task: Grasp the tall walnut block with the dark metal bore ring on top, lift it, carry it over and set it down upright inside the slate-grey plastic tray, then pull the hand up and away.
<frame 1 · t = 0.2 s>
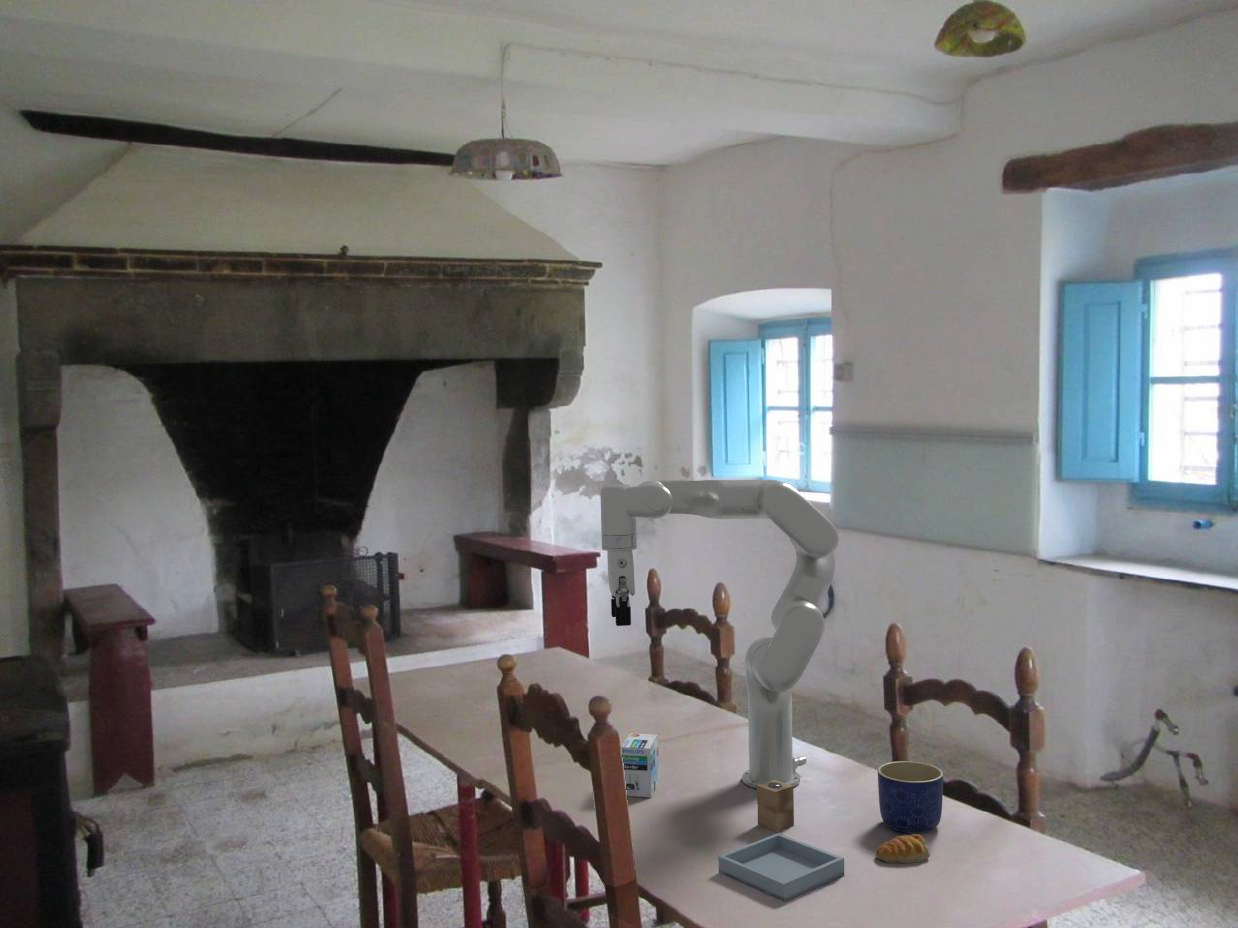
hand: (621, 620, 240), 37 cm above the table, tool pointing down, fingers open, 9 cm apart
planter: (910, 826, 218), on the table
light bulb box: (641, 789, 242), on the table
walnut block: (775, 825, 219), on the table
pastry: (904, 858, 203), on the table
tray: (781, 873, 197), on the table
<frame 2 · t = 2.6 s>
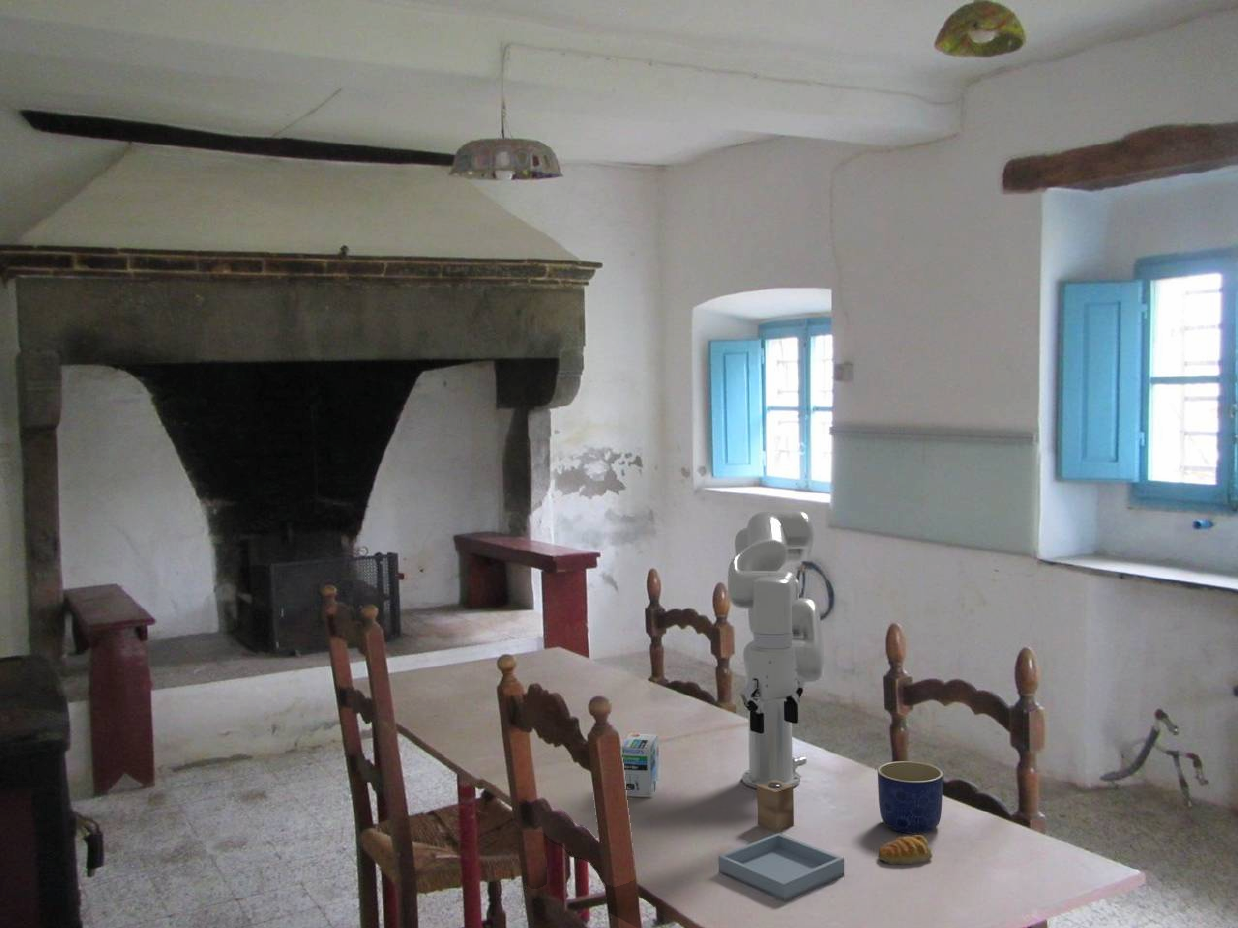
hand: (774, 726, 218), 20 cm above the table, tool pointing down, fingers open, 9 cm apart
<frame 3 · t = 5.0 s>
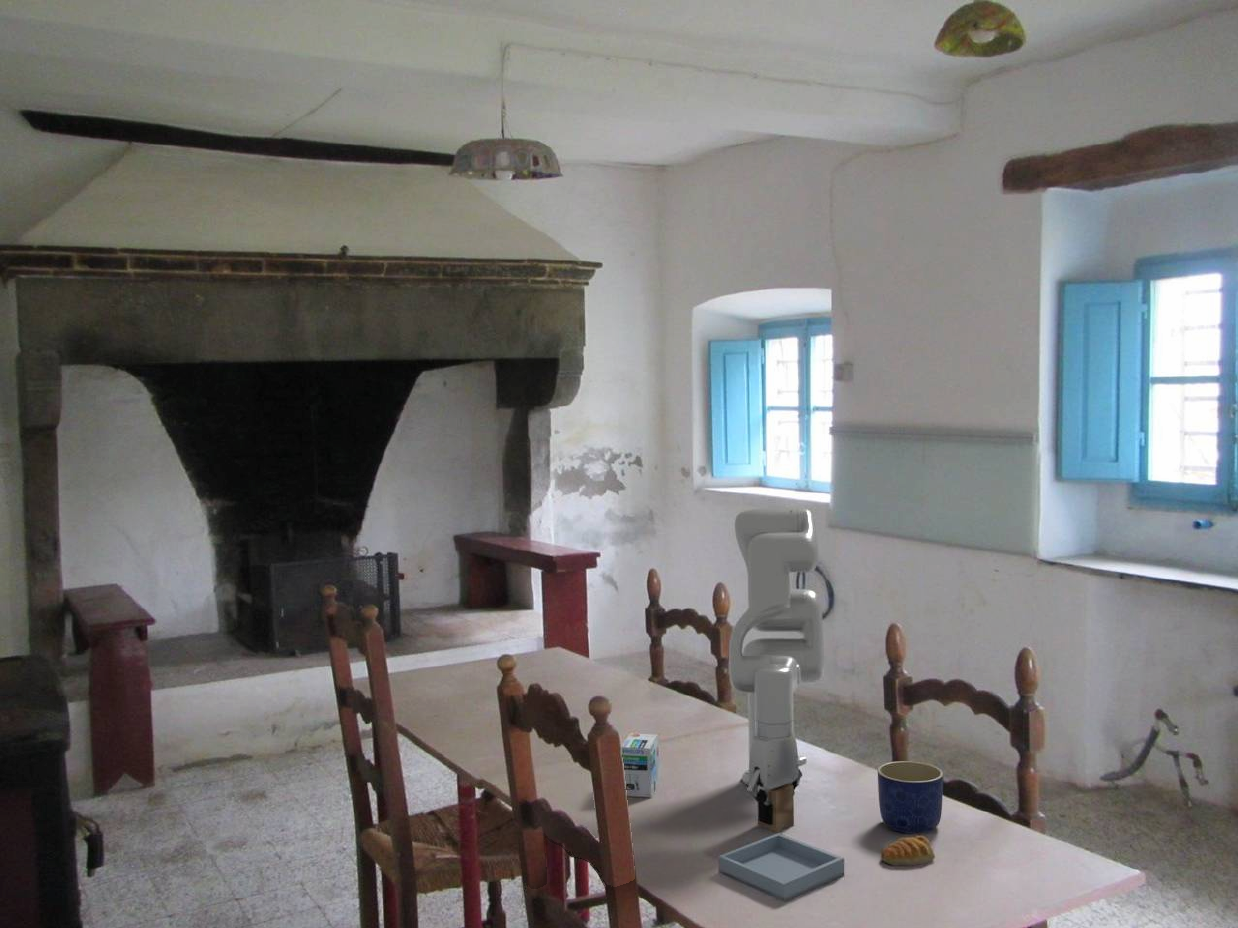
hand: (775, 817, 219), 1 cm above the table, tool pointing down, fingers closed on walnut block, 5 cm apart
walnut block: (775, 825, 219), on the table, touching gripper
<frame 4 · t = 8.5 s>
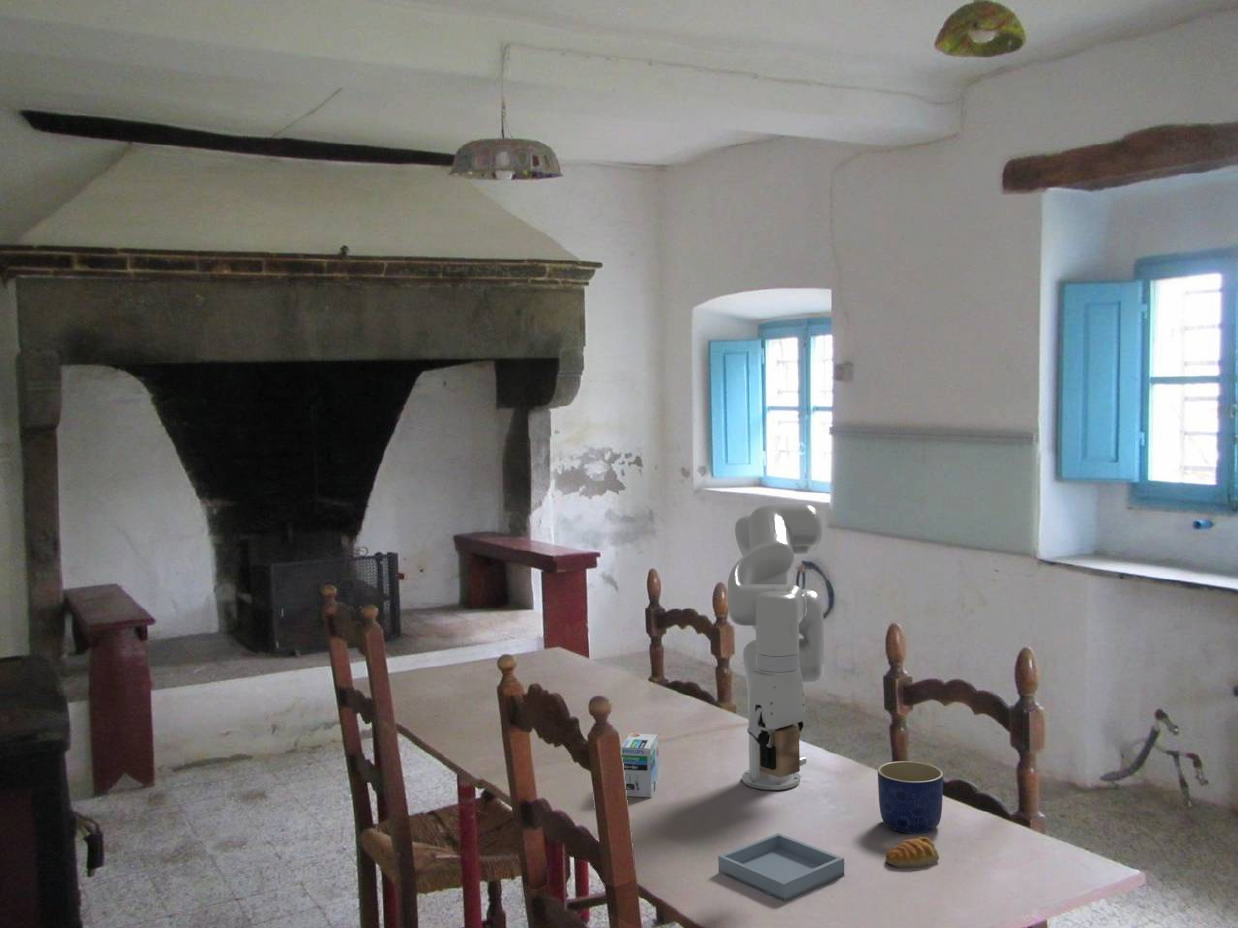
hand: (779, 763, 196), 20 cm above the table, tool pointing down, fingers closed on walnut block, 5 cm apart
walnut block: (779, 770, 197), point 18 cm above the table, touching gripper
when the fingers open (4 cm above the table, at t = 12.4 s): walnut block drops 1 cm, resting on tray.
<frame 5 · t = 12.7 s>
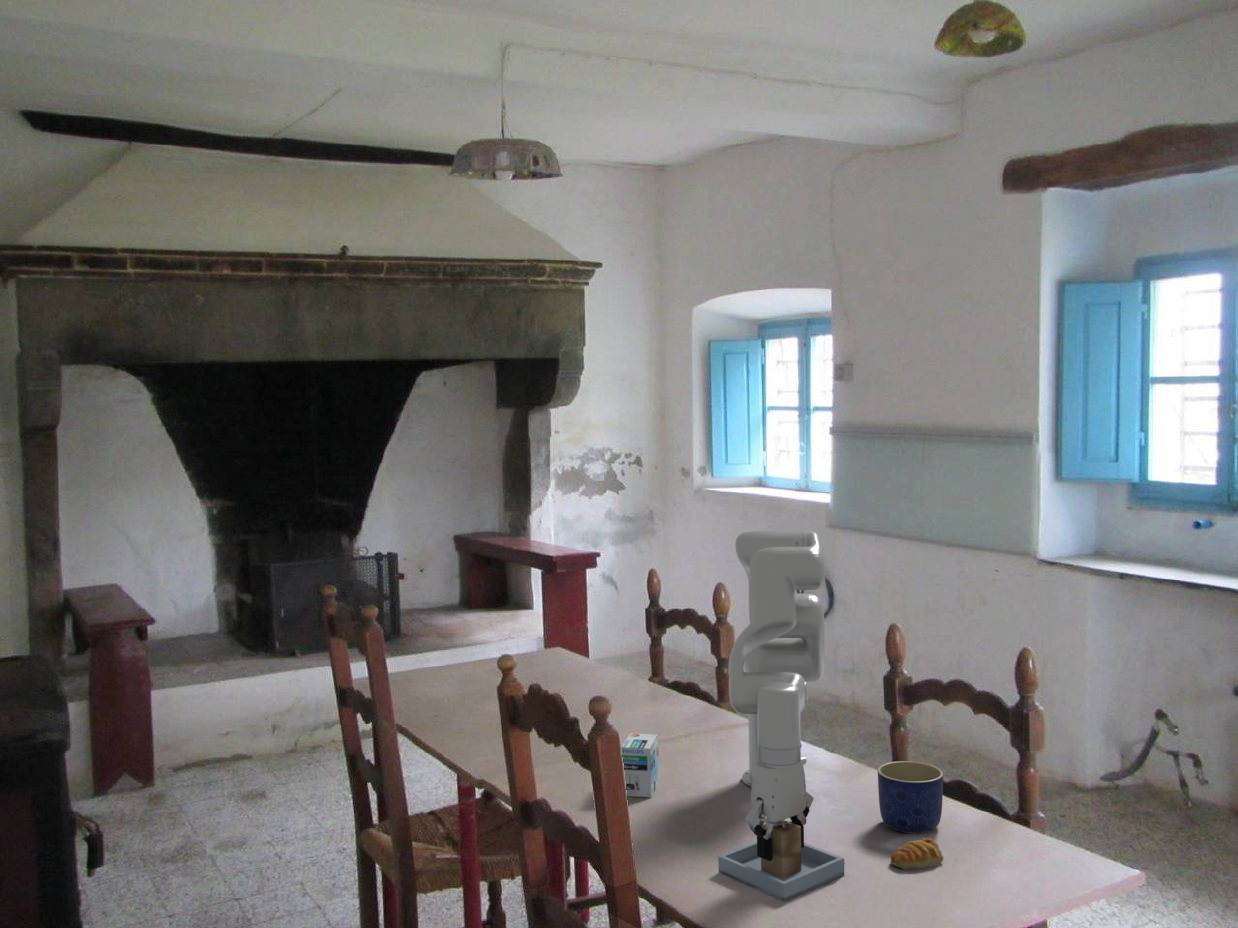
hand: (780, 851, 197), 4 cm above the table, tool pointing down, fingers open, 7 cm apart
walnut block: (781, 870, 197), point 1 cm above the table, touching tray
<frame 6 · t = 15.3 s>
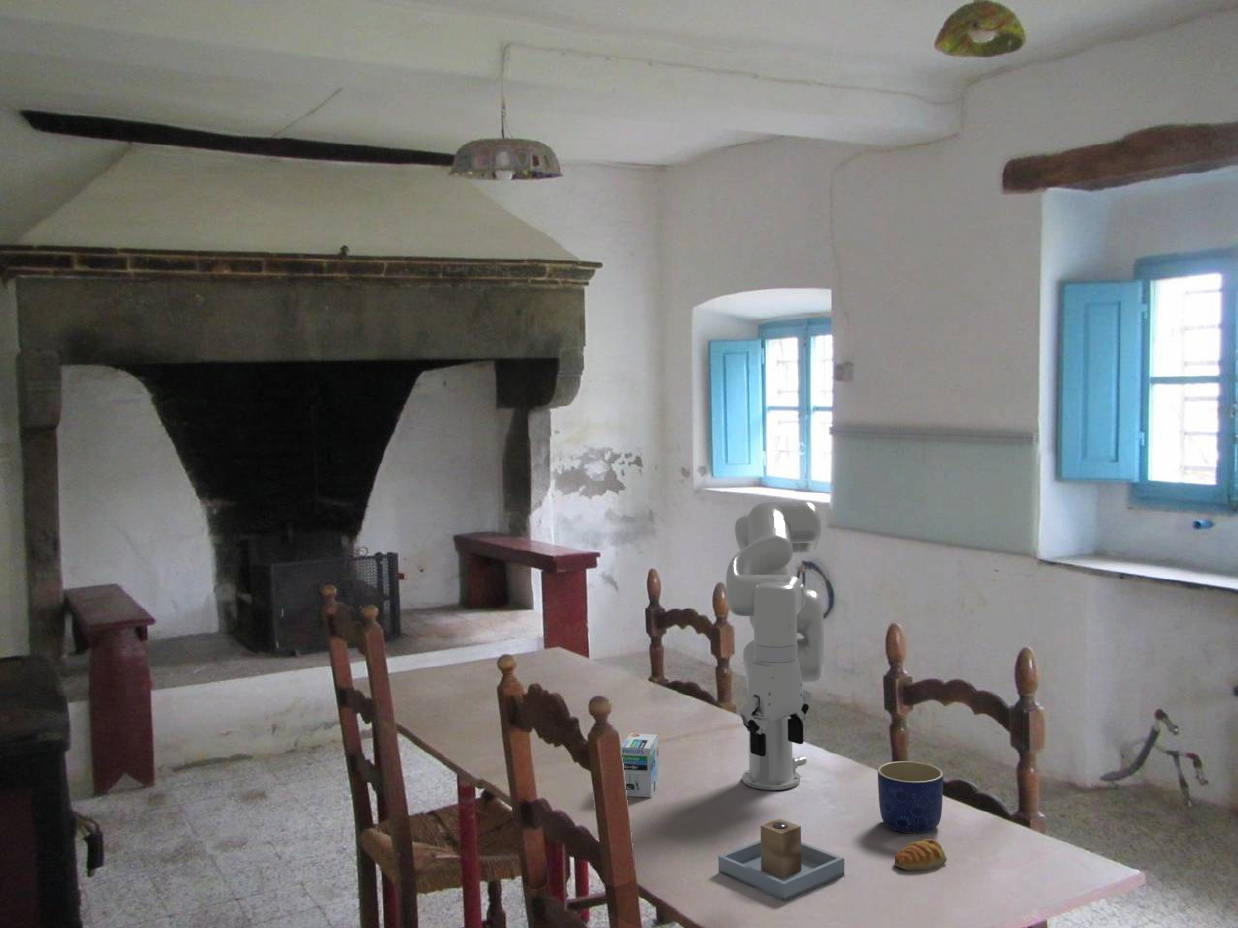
hand: (777, 748, 197), 22 cm above the table, tool pointing down, fingers open, 9 cm apart
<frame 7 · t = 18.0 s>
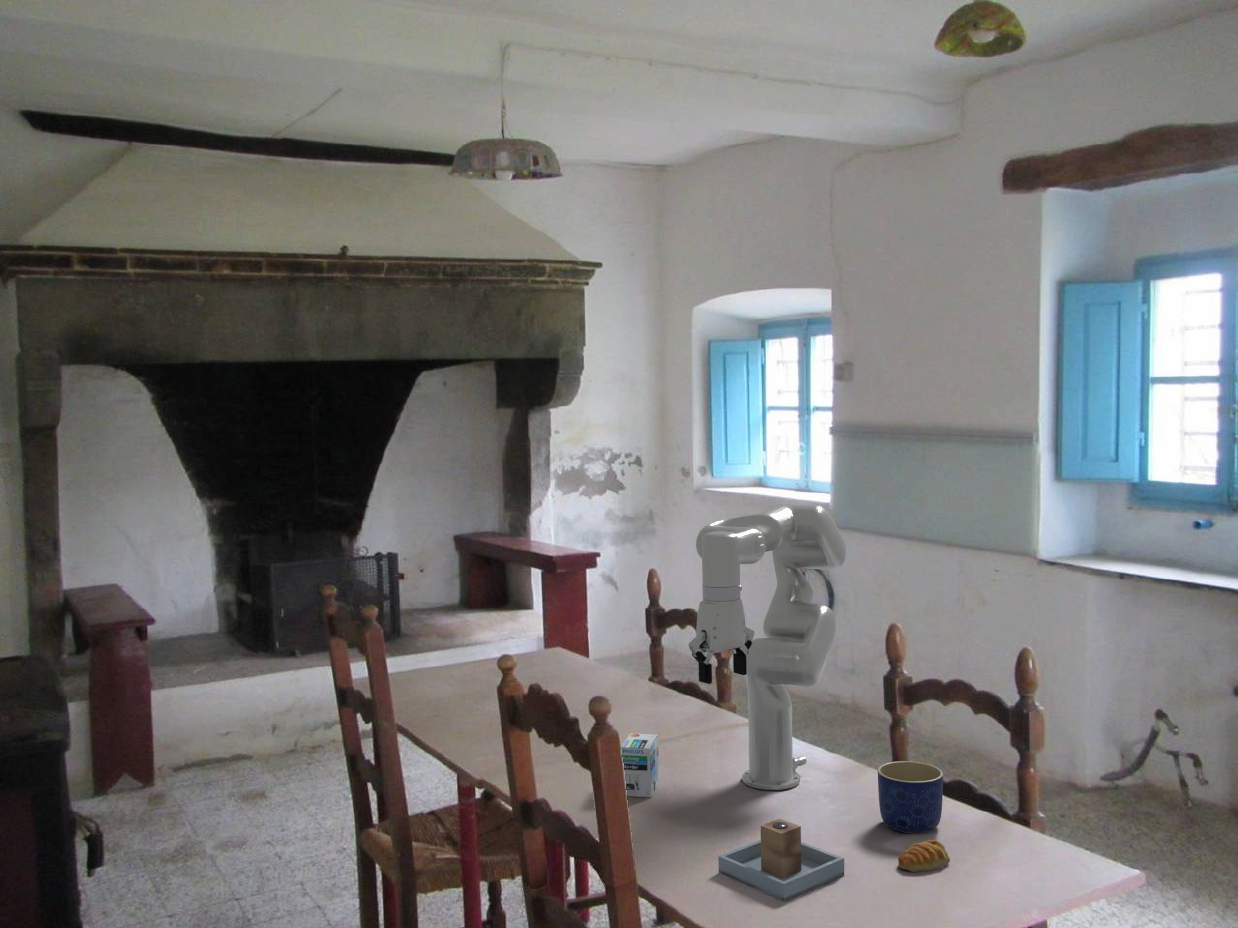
hand: (723, 678, 223), 28 cm above the table, tool pointing down, fingers open, 9 cm apart
at the end: walnut block inside the target area on the tray (0.1 cm from its centre), point 0.6 cm above the tray's base; walnut block tilted 0°; the gripper is holding nothing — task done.
